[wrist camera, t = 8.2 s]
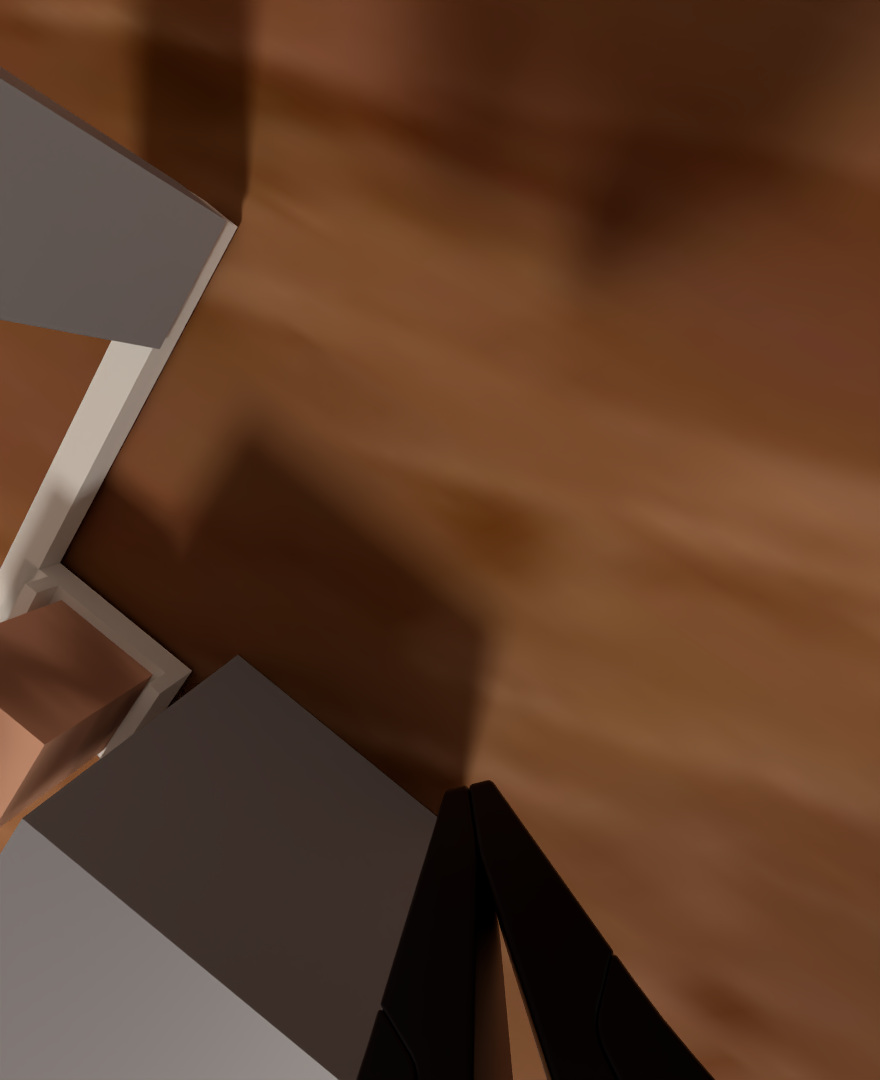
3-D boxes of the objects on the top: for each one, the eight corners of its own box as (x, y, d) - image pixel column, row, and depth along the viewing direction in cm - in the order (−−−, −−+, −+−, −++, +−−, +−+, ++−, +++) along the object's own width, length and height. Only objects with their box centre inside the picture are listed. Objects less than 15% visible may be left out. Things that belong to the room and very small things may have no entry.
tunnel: (455, 832, 22) (392, 1124, 13) (329, 954, 25) (204, 1265, 16) (237, 654, 23) (22, 818, 13) (137, 796, 25) (-98, 1012, 16)
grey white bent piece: (404, 360, 18) (250, 293, 9) (133, 757, 25) (-129, 970, 15) (199, 196, 18) (-175, -48, 9) (-19, 633, 25) (-374, 766, 15)
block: (152, 674, 22) (44, 744, 17) (103, 749, 24) (-9, 833, 19) (61, 599, 22) (-72, 649, 17) (18, 679, 24) (-116, 745, 19)
